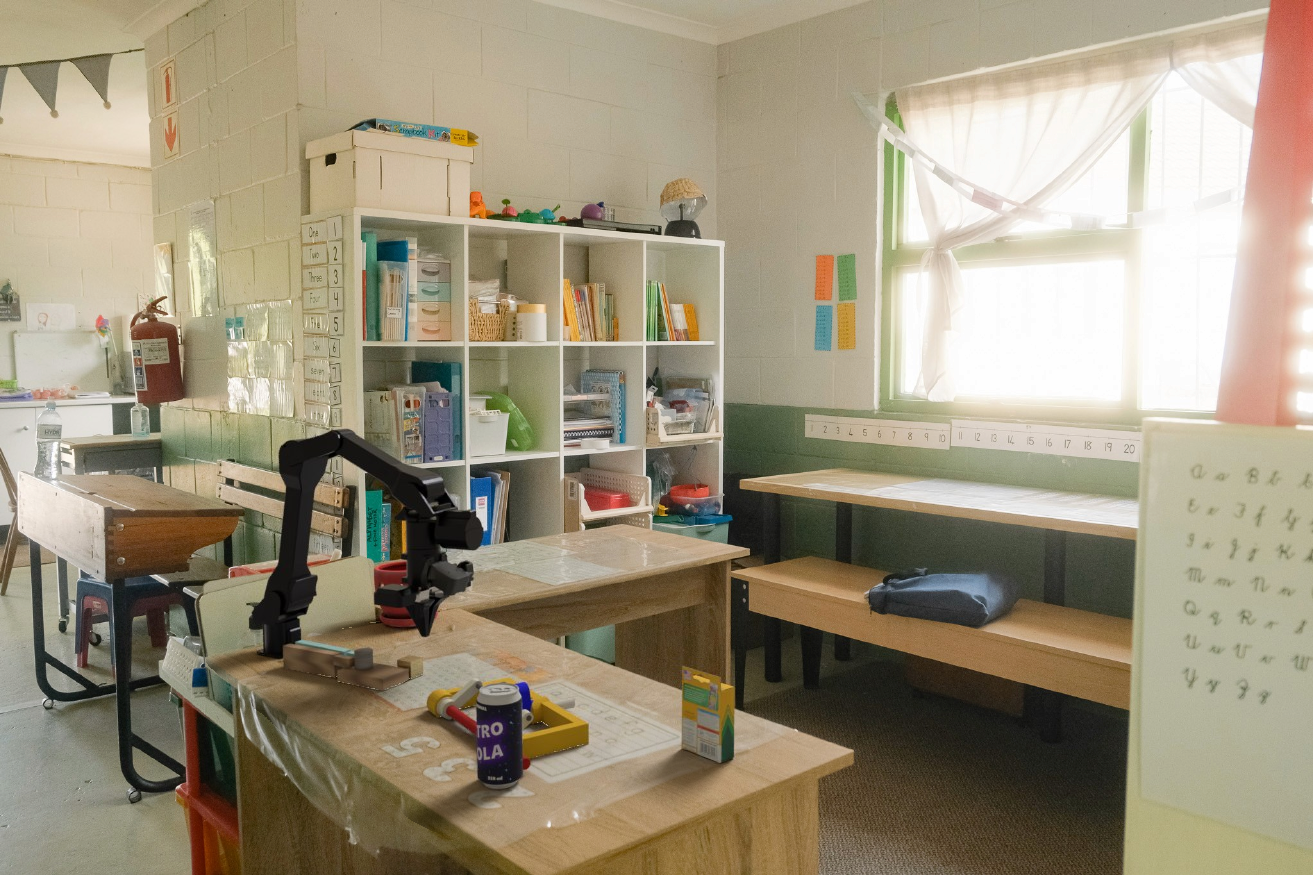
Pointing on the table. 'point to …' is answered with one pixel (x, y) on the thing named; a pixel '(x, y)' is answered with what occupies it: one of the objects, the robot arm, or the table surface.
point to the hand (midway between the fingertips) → (425, 636)
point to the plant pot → (387, 576)
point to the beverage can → (499, 735)
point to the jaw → (326, 648)
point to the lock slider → (411, 665)
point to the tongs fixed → (355, 670)
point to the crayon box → (707, 715)
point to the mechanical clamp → (534, 709)
